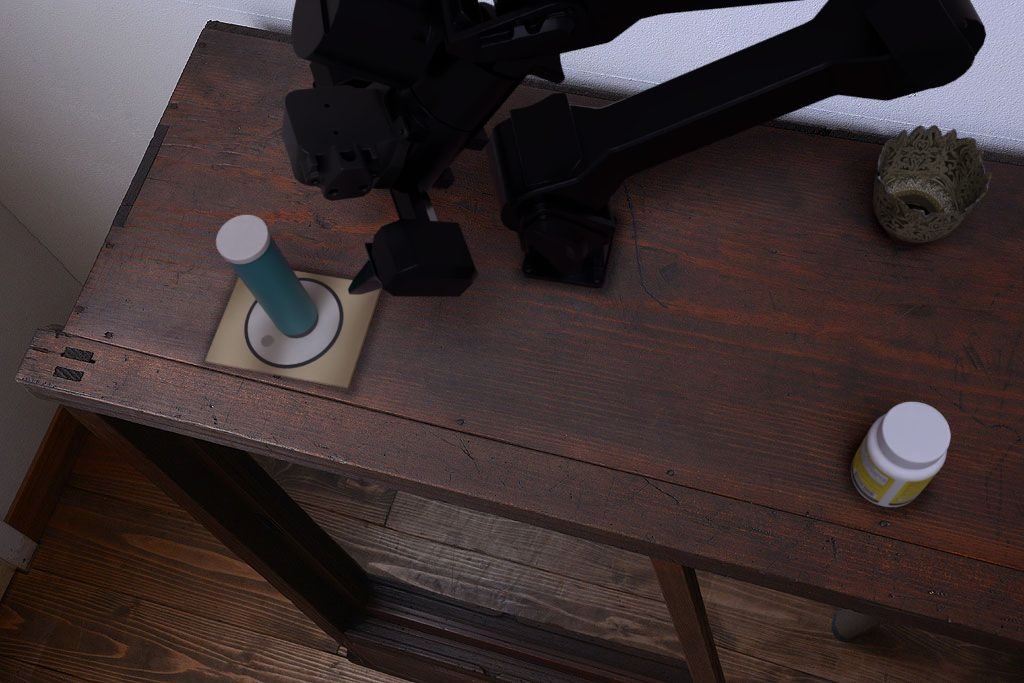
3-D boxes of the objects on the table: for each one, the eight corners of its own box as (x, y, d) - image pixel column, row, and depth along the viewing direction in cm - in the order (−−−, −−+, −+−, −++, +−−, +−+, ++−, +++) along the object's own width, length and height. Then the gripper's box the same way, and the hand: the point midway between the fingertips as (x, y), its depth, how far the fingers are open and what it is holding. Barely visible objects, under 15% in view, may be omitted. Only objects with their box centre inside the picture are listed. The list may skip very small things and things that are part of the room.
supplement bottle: (927, 453, 67) (964, 407, 59) (916, 517, 65) (952, 478, 57) (856, 434, 68) (883, 386, 60) (842, 497, 66) (869, 456, 58)
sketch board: (383, 287, 77) (381, 283, 77) (349, 389, 74) (347, 386, 73) (246, 265, 80) (243, 261, 79) (206, 362, 76) (203, 359, 76)
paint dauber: (308, 292, 77) (254, 205, 66) (329, 325, 76) (276, 242, 65) (269, 315, 77) (207, 231, 66) (288, 349, 75) (228, 269, 64)
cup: (965, 269, 72) (1001, 209, 65) (863, 273, 73) (887, 214, 66) (948, 186, 76) (980, 120, 68) (850, 190, 76) (872, 126, 69)
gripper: (289, -51, 57) (198, 119, 67) (379, 214, 50) (263, 356, 61) (443, -11, 64) (339, 137, 75) (539, 225, 57) (410, 351, 68)
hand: (336, 237), depth 69 cm, fingers open, 9 cm apart
